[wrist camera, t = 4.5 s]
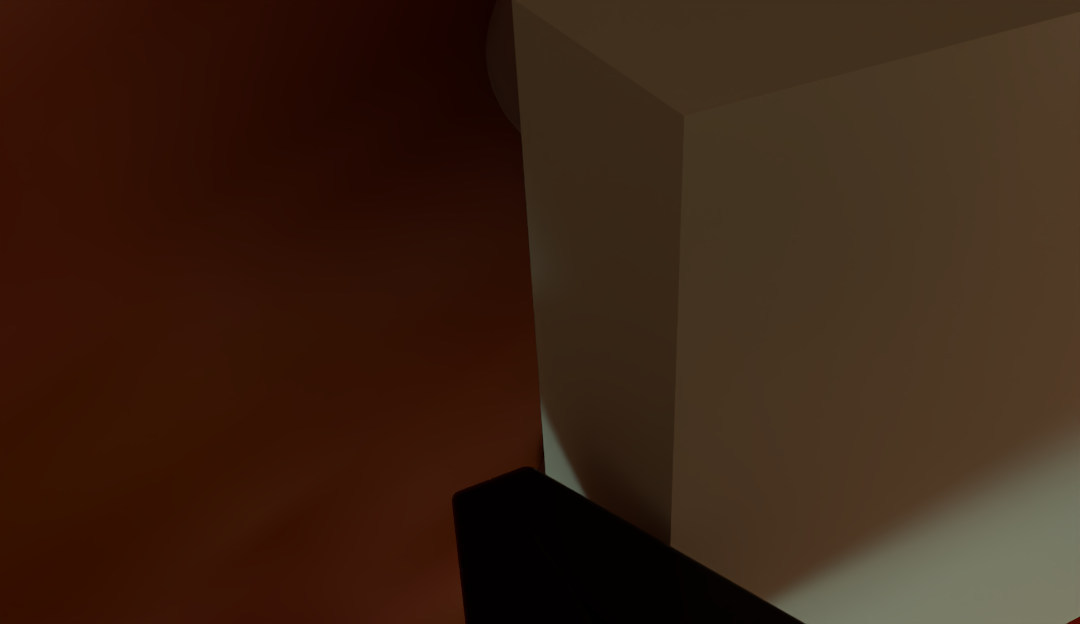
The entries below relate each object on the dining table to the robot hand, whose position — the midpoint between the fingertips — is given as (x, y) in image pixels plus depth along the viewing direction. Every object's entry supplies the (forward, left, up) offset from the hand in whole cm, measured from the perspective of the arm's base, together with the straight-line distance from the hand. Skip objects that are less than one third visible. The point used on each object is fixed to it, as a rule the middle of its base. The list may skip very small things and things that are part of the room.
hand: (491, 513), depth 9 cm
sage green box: (0, -6, -3) cm, 7 cm away
